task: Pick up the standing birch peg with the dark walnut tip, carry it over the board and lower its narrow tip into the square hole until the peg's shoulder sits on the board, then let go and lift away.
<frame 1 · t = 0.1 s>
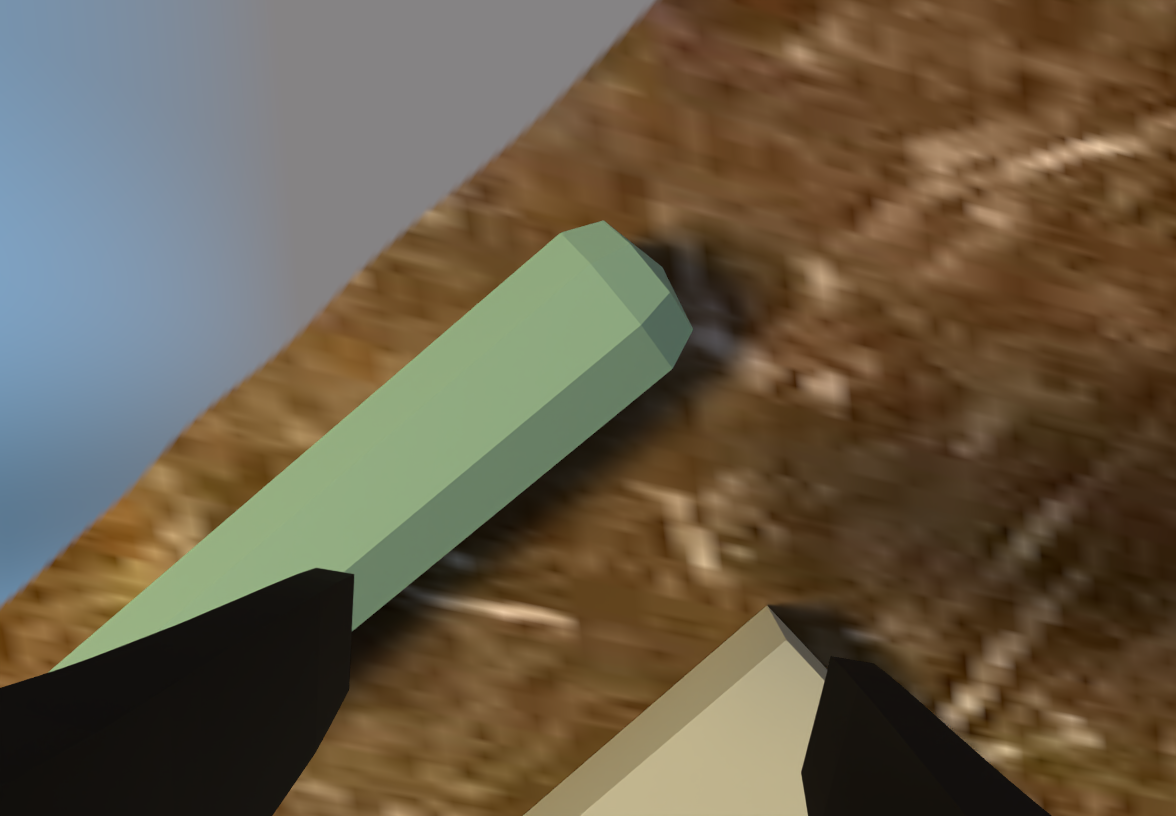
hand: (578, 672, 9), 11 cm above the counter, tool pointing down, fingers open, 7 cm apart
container: (369, 525, 21), on the counter
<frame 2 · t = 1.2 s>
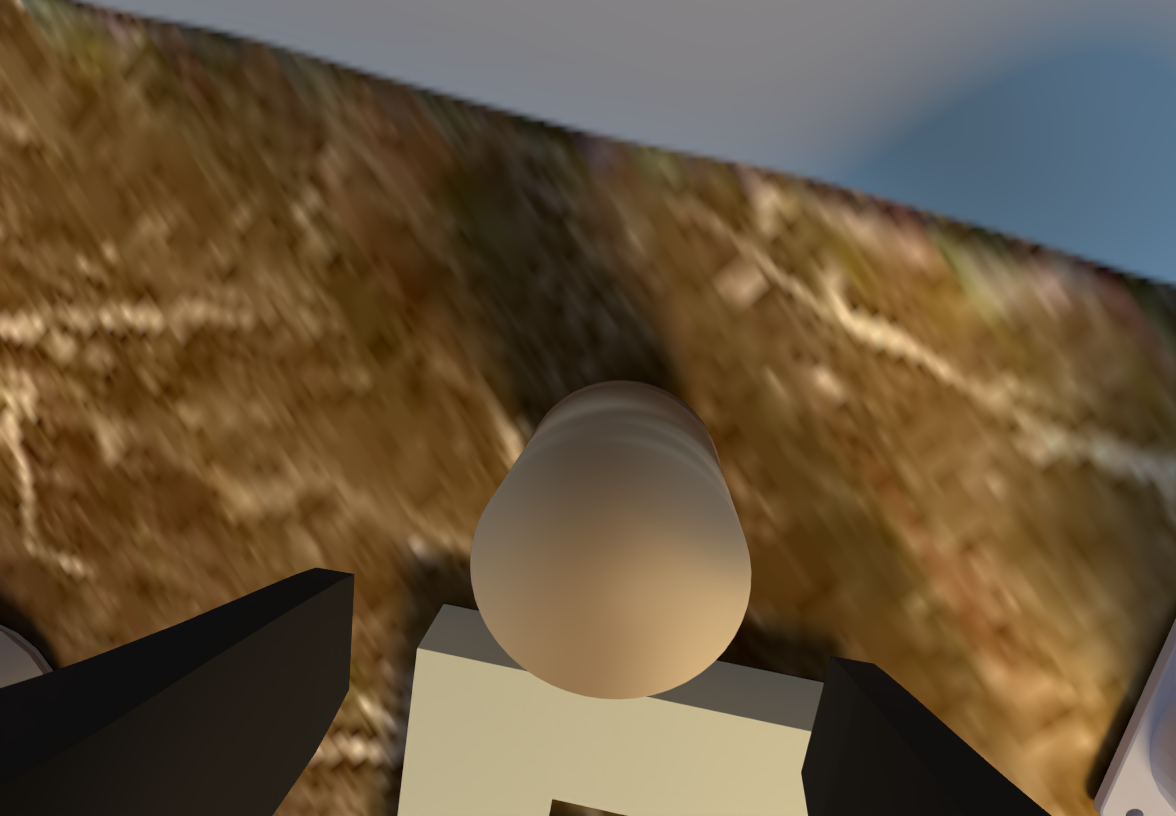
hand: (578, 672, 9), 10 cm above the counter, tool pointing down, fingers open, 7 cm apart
peg: (624, 450, 19), on the counter
board: (613, 803, 22), on the counter
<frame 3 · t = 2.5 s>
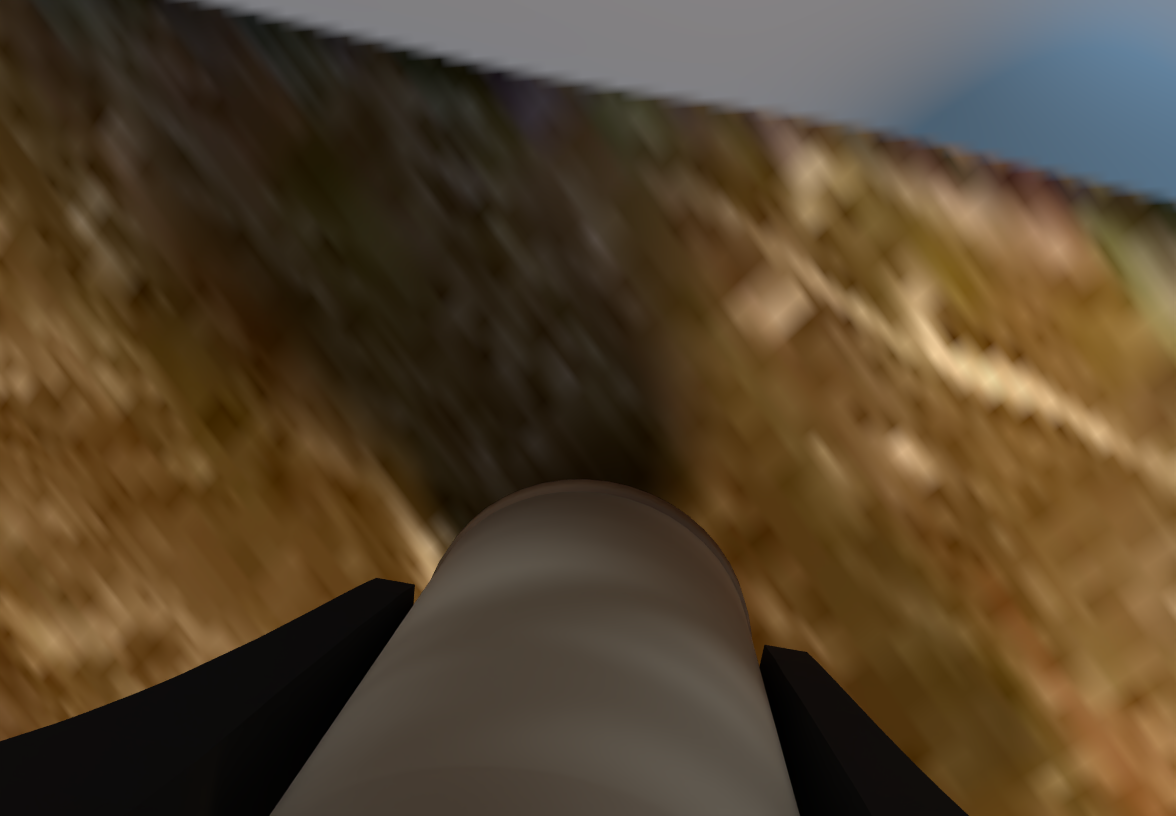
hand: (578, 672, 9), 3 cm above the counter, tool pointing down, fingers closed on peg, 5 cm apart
peg: (596, 564, 13), on the counter, touching gripper
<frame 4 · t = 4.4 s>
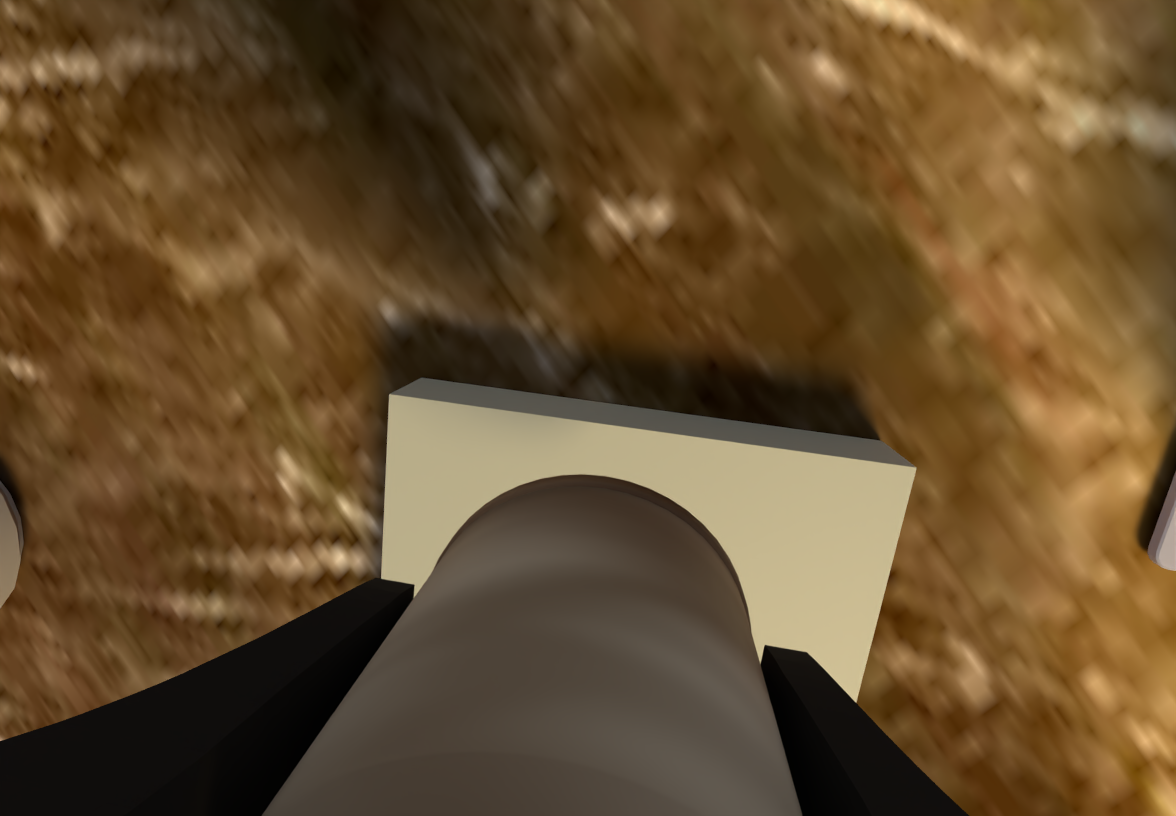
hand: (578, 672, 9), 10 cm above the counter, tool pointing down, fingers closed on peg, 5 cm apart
peg: (596, 561, 13), point 7 cm above the counter, touching gripper
board: (618, 599, 20), on the counter
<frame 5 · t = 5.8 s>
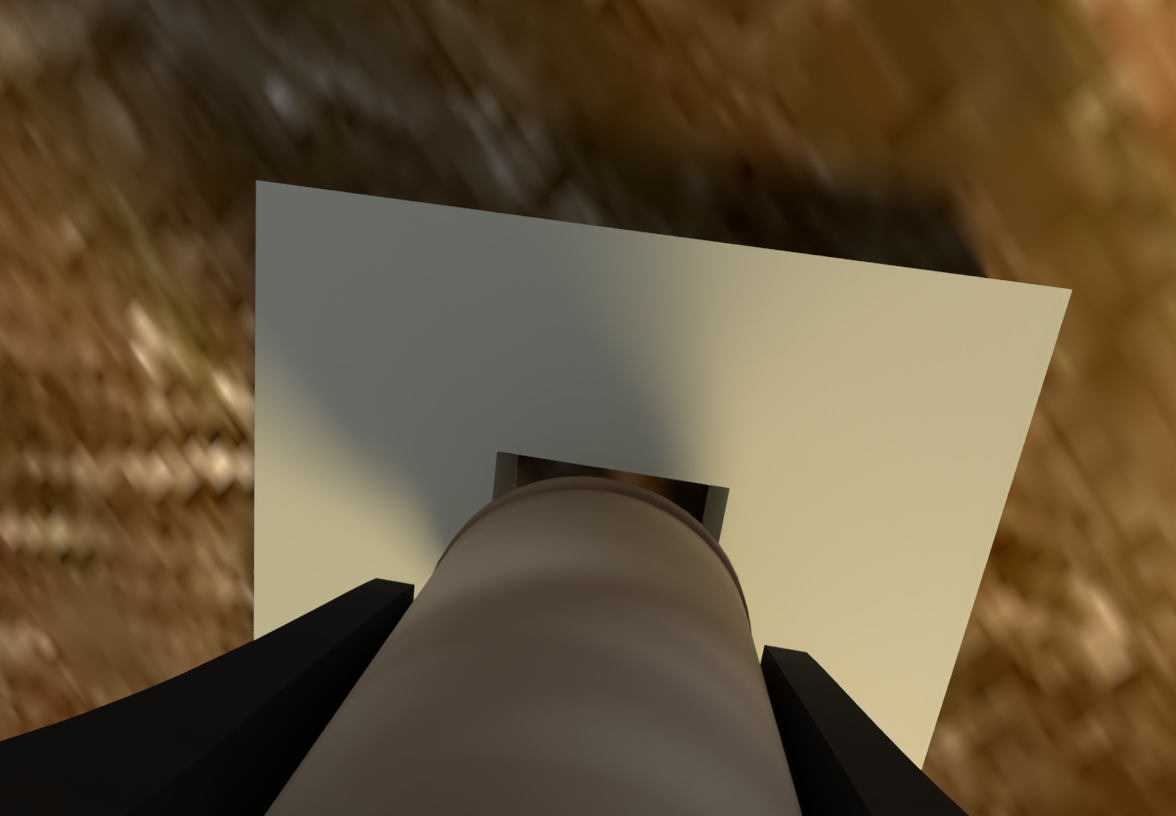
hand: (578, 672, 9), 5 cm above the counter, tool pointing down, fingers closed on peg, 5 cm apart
peg: (596, 563, 13), point 2 cm above the counter, touching gripper
board: (605, 523, 15), on the counter
when the fingers open (4 cm above the counter, at t = 6.6 s): peg stays where it is, resting on board.
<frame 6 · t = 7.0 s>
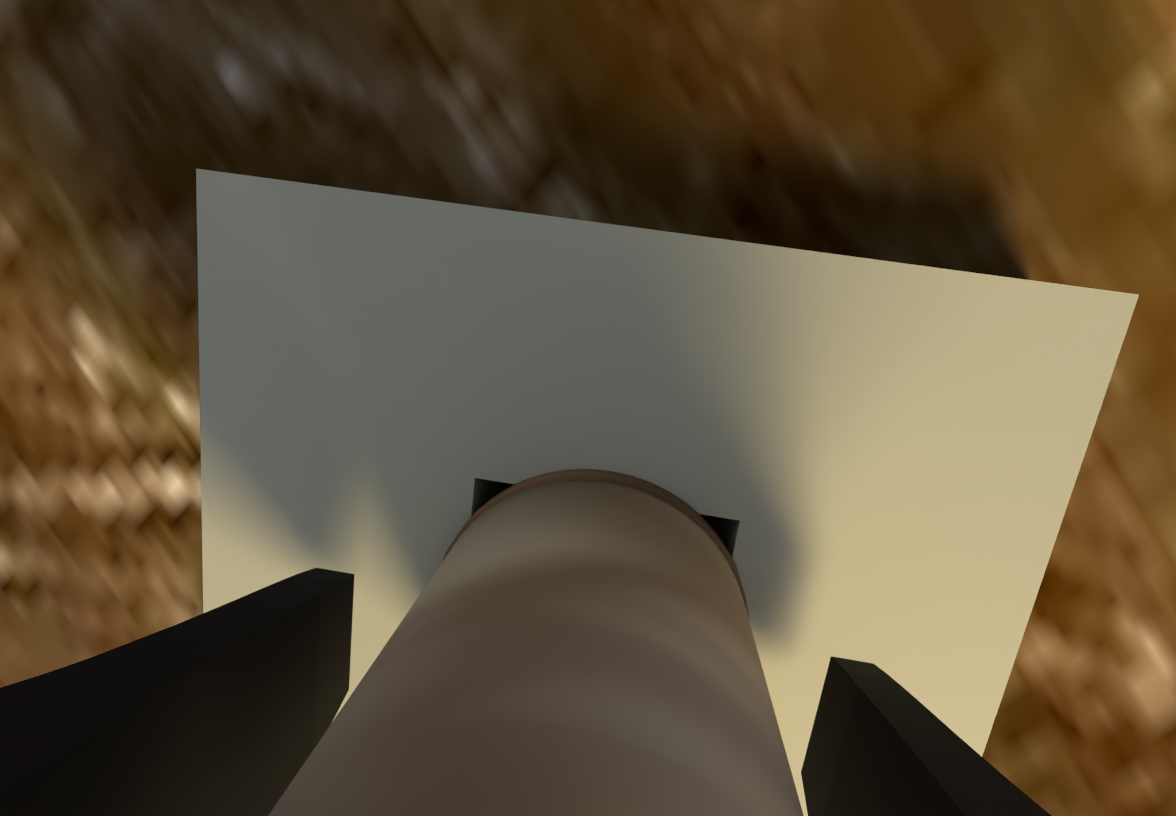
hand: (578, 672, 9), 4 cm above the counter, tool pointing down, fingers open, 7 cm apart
peg: (599, 554, 13), resting on board
board: (599, 551, 13), on the counter
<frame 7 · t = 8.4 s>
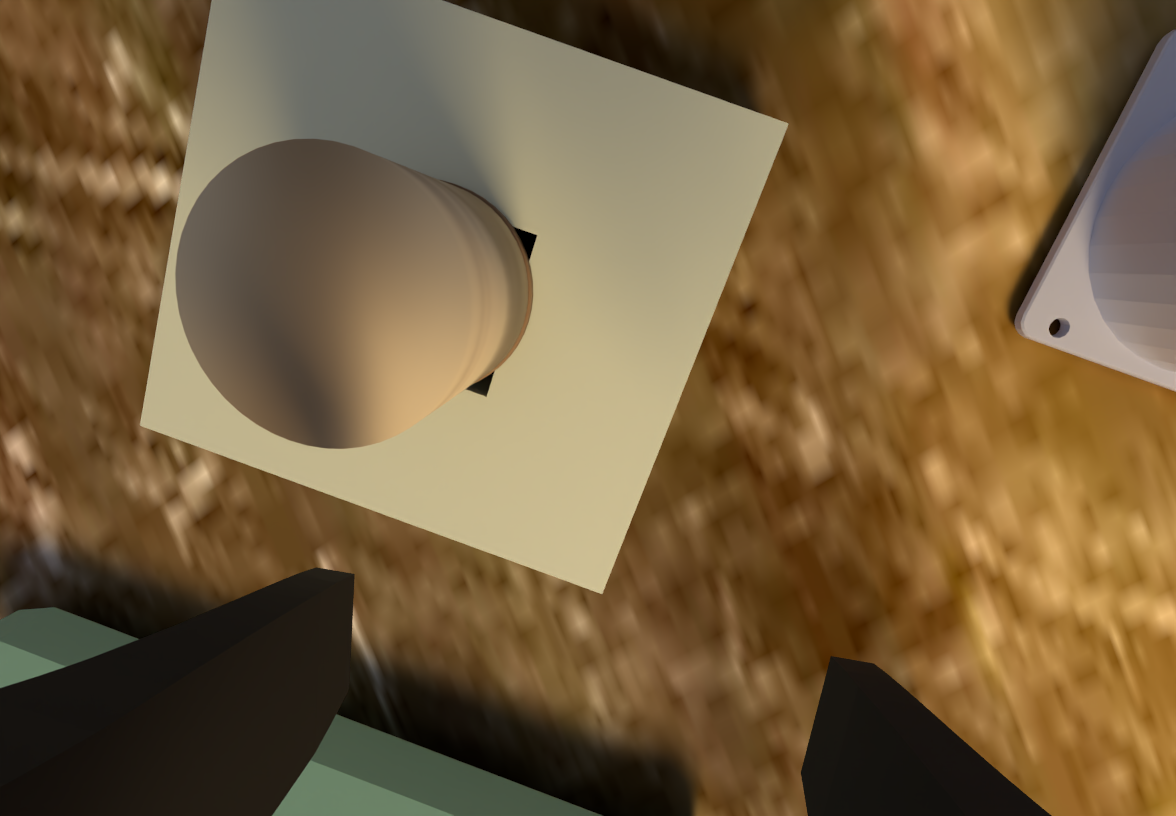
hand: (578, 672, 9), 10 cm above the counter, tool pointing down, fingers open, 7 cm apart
peg: (458, 285, 18), resting on board
board: (459, 286, 19), on the counter
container: (360, 733, 23), on the counter
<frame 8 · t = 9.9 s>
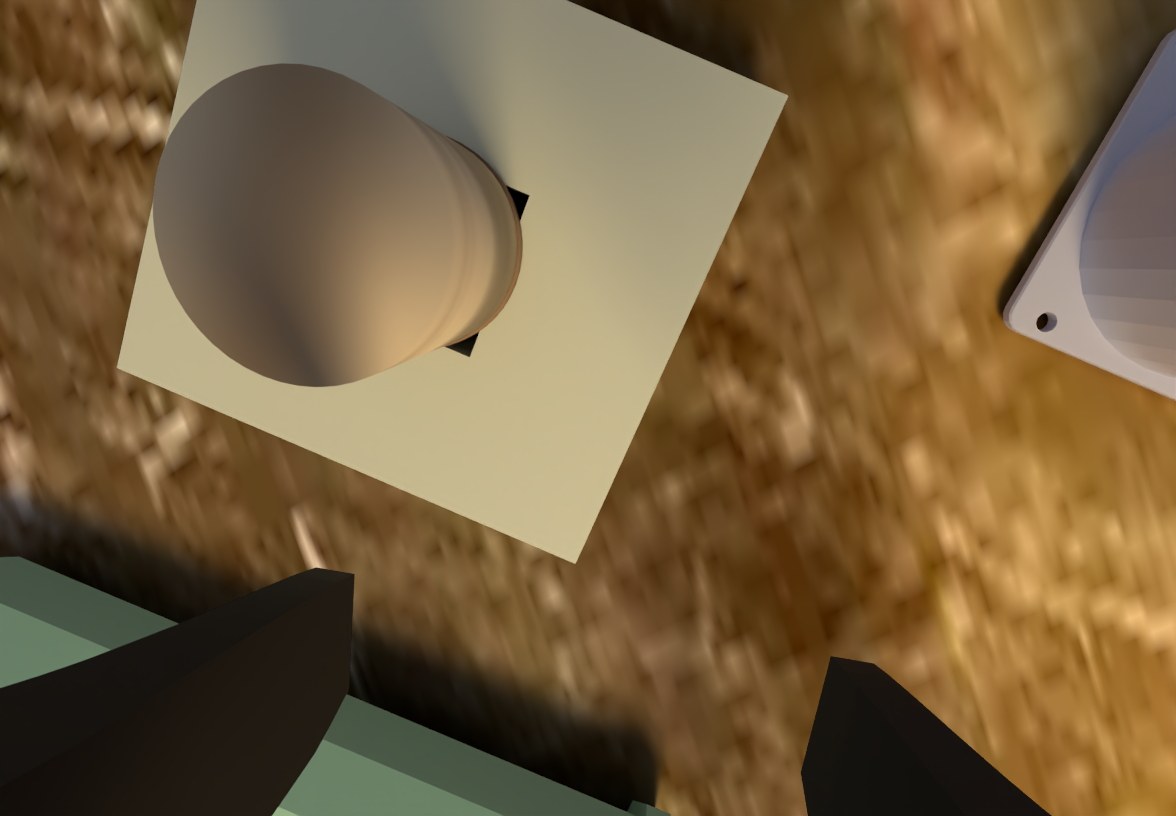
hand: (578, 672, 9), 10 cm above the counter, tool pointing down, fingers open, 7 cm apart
peg: (448, 245, 18), resting on board
board: (449, 247, 18), on the counter
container: (326, 697, 23), on the counter
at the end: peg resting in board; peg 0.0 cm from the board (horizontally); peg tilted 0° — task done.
